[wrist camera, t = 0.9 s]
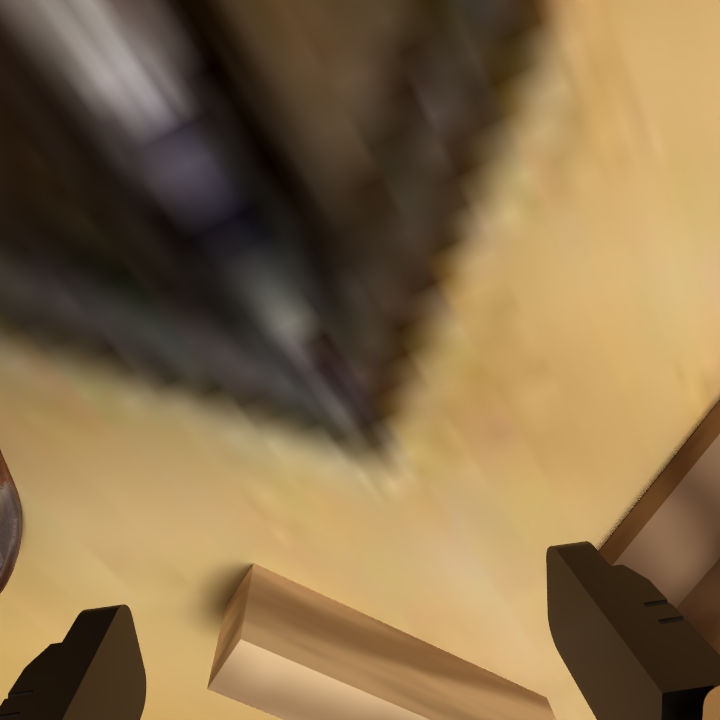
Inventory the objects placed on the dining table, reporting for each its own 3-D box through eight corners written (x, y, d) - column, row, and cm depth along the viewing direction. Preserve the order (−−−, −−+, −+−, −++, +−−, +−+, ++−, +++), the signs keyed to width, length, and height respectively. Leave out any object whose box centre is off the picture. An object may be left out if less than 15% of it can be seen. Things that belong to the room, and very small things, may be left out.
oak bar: (254, 560, 33) (240, 639, 28) (545, 694, 38) (585, 785, 32) (226, 604, 34) (207, 689, 28) (514, 730, 39) (548, 824, 33)
